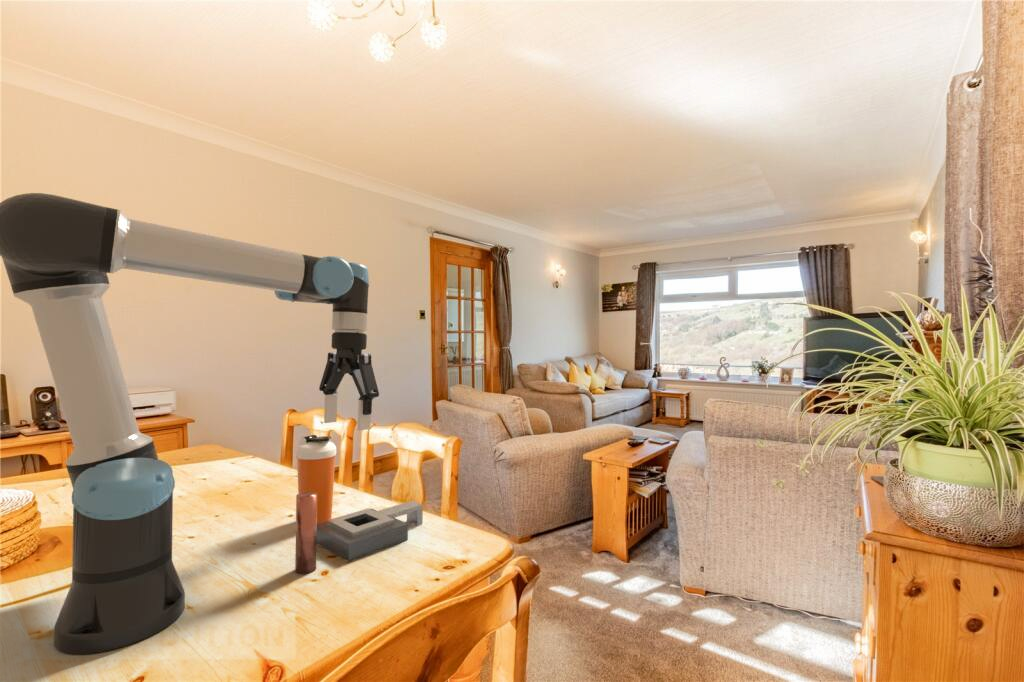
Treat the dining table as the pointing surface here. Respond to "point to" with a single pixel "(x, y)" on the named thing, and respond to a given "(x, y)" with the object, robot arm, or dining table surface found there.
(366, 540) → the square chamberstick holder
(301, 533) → the copper cylinder
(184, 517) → the dining table surface
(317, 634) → the dining table surface
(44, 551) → the dining table surface
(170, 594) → the robot arm
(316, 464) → the shaker bottle
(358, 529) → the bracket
